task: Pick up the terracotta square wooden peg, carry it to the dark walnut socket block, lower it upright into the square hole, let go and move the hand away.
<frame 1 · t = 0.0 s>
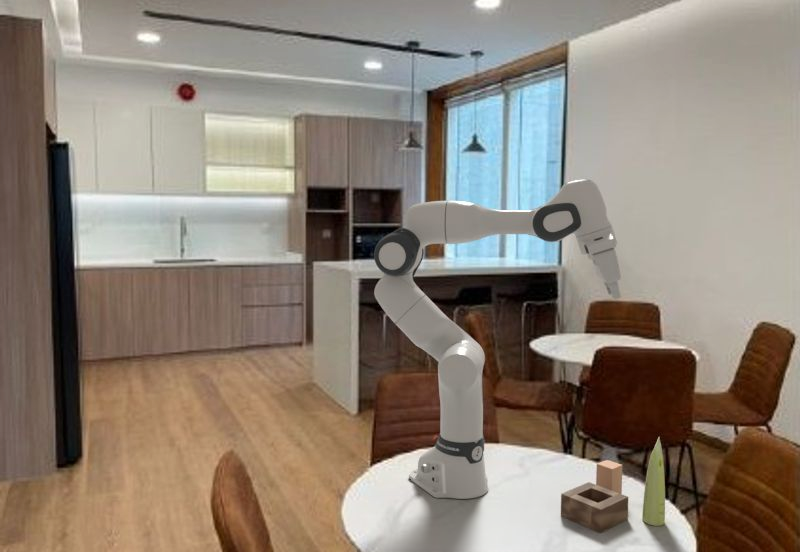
hand: (614, 296, 161), 52 cm above the table, tool tilted 20°, fingers open, 8 cm apart
tube: (653, 522, 154), on the table
peg: (608, 498, 166), on the table
socket block: (593, 517, 156), on the table
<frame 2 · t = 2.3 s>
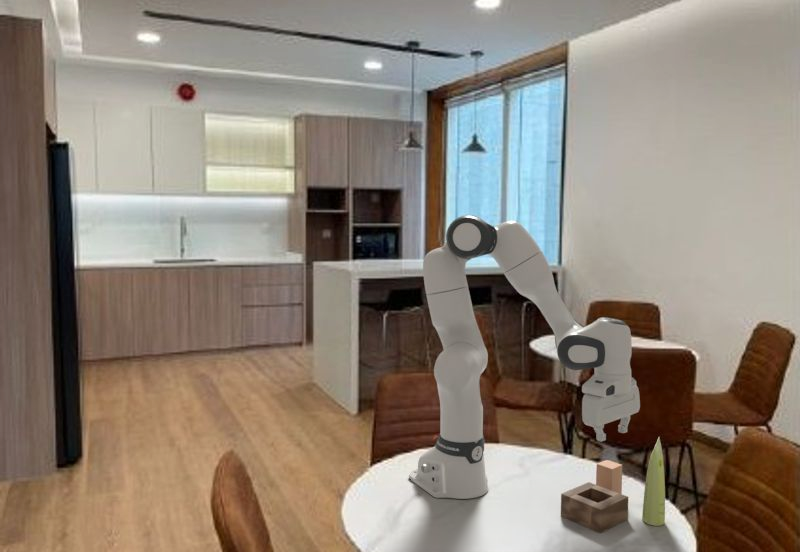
hand: (612, 436, 165), 16 cm above the table, tool pointing down, fingers open, 8 cm apart
nothing on the table moved.
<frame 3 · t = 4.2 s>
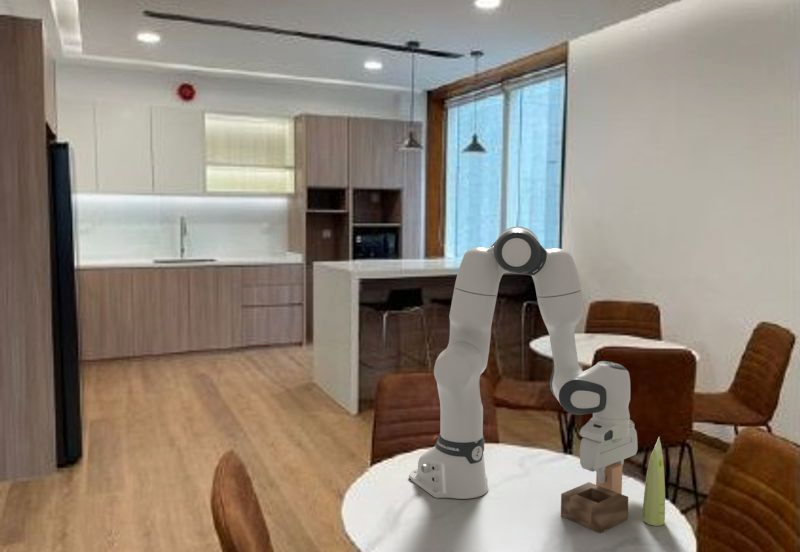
hand: (609, 479, 166), 5 cm above the table, tool pointing down, fingers closed on peg, 4 cm apart
peg: (608, 498, 166), on the table, touching gripper
everything else where it was.
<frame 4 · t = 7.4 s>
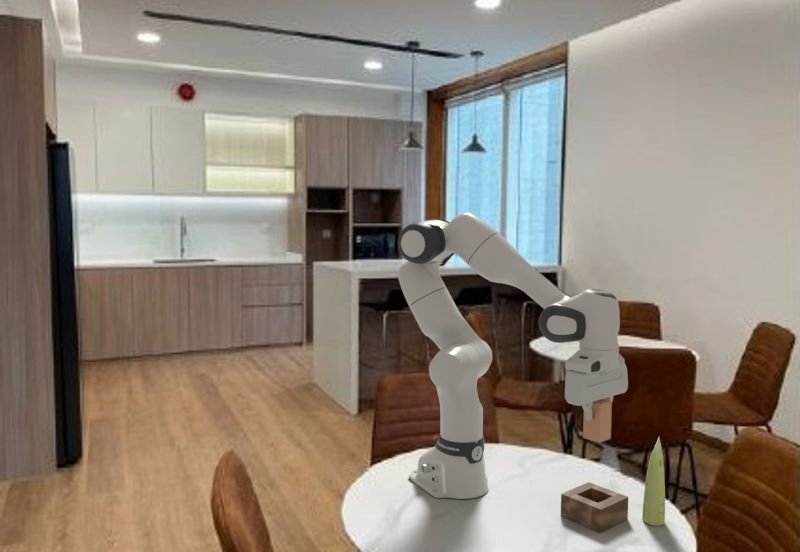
hand: (597, 416, 154), 25 cm above the table, tool pointing down, fingers closed on peg, 4 cm apart
peg: (596, 438, 154), point 19 cm above the table, touching gripper
everything else where it was.
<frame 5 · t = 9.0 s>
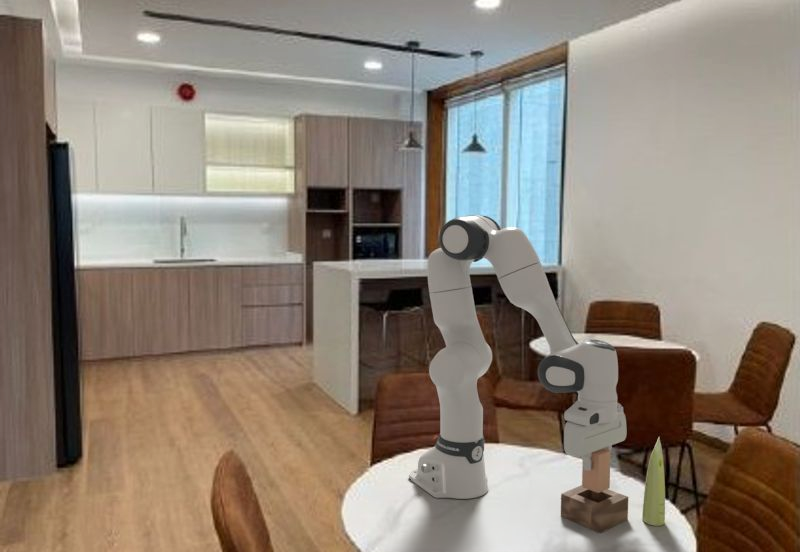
hand: (595, 466, 155), 13 cm above the table, tool pointing down, fingers closed on peg, 4 cm apart
peg: (595, 487, 155), point 7 cm above the table, touching gripper
everything else where it was.
when the fingers open (8 cm above the table, at t = 10.4 s): peg drops 1 cm, resting on socket block.
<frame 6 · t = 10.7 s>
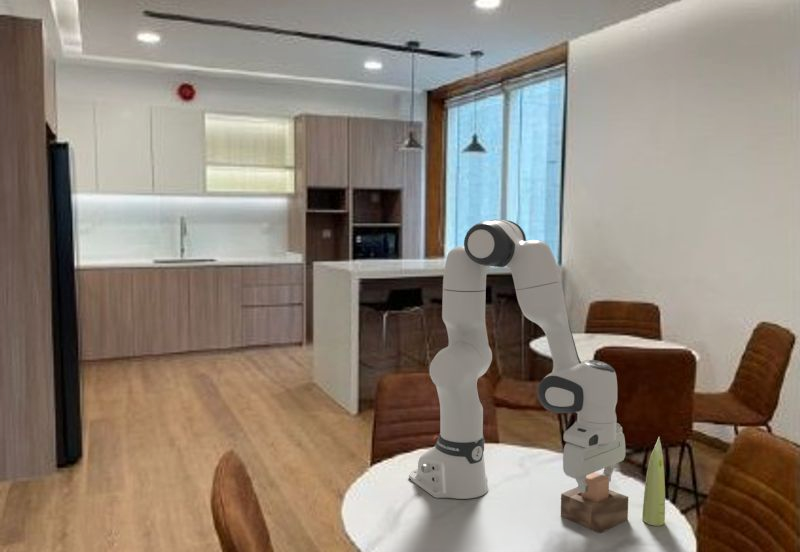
hand: (594, 486, 155), 8 cm above the table, tool pointing down, fingers open, 8 cm apart
peg: (594, 513, 156), point 1 cm above the table, touching socket block
everything else where it was.
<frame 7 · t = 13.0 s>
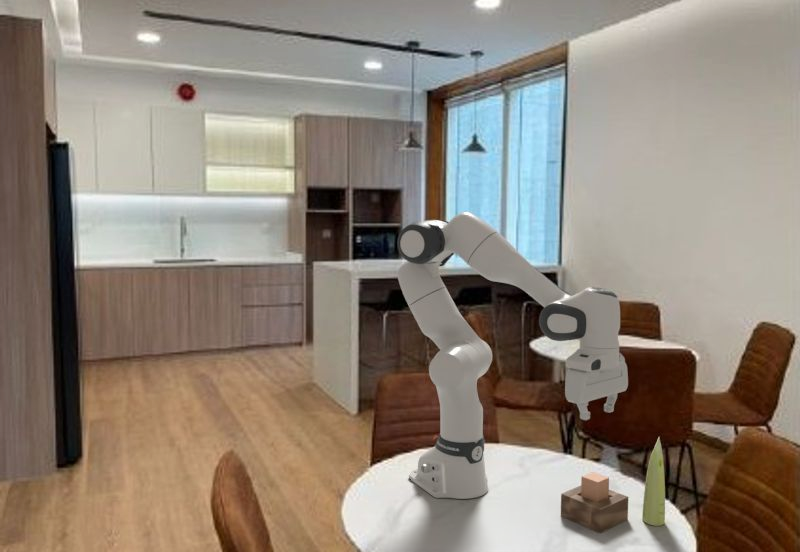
hand: (597, 415, 154), 25 cm above the table, tool pointing down, fingers open, 8 cm apart
nothing on the table moved.
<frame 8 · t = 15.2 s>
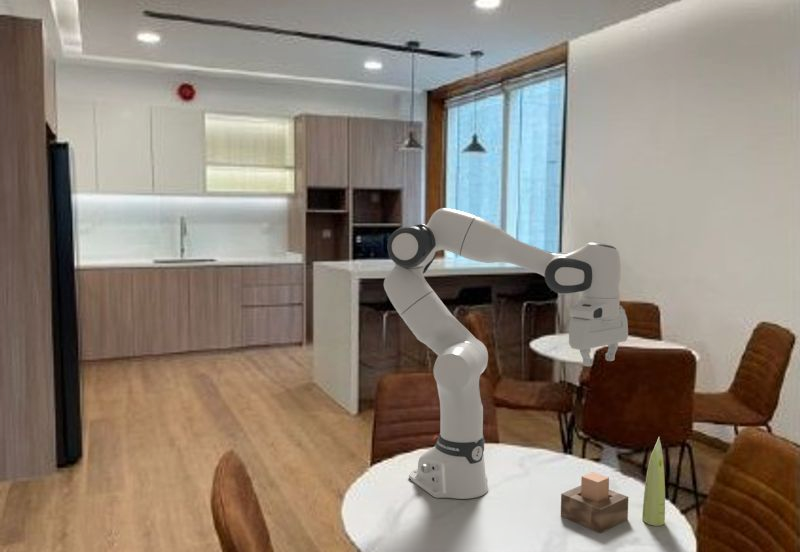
hand: (598, 363, 163), 35 cm above the table, tool pointing down, fingers open, 8 cm apart
nothing on the table moved.
at the end: peg 0.1 cm off-centre on the socket block, point 1.0 cm above the socket block's base; peg tilted 0°; the gripper is holding nothing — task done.
